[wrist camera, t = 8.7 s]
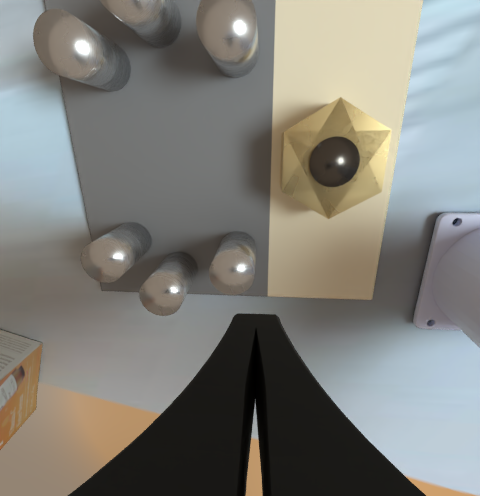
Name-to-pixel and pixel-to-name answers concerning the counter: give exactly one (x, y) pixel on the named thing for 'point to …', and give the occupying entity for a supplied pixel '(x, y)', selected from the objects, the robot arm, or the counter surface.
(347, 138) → the brass nut
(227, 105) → the spacer mat
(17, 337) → the small box
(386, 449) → the counter surface
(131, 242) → the standing spacers
